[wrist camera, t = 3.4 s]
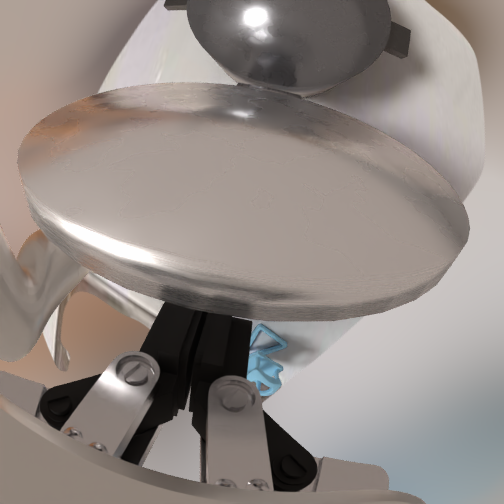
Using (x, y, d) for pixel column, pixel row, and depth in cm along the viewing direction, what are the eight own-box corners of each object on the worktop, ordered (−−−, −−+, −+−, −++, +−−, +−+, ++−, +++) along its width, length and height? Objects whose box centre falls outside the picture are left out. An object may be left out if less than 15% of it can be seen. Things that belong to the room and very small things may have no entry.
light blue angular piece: (231, 343, 54) (224, 390, 44) (260, 322, 51) (257, 371, 41) (259, 361, 56) (256, 407, 46) (288, 342, 53) (290, 390, 43)
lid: (379, 119, 24) (368, 149, 26) (159, 74, 23) (156, 105, 25) (549, 318, 5) (490, 374, 7) (-73, 186, 4) (-45, 257, 6)
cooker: (363, 122, 35) (398, 124, 24) (175, 83, 34) (141, 70, 23) (385, 6, 25) (418, -21, 14) (208, -31, 24) (190, -69, 13)
